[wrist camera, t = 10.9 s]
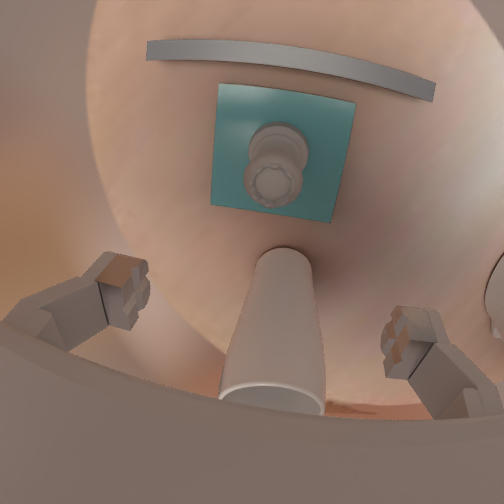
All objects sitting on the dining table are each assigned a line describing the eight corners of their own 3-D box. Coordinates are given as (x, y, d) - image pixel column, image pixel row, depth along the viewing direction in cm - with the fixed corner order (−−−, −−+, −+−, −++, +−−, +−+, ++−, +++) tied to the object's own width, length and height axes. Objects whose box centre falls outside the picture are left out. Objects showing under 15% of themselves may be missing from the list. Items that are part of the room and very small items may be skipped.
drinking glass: (293, 306, 32) (284, 441, 20) (235, 275, 31) (198, 412, 19) (334, 261, 29) (350, 405, 16) (272, 224, 27) (249, 367, 15)
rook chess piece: (292, 110, 21) (292, 130, 14) (318, 163, 23) (328, 207, 16) (238, 136, 23) (213, 167, 16) (265, 185, 25) (253, 236, 18)
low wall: (420, 80, 19) (435, 83, 16) (417, 97, 20) (432, 102, 17) (163, 42, 20) (147, 41, 17) (162, 60, 21) (146, 60, 18)
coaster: (353, 102, 21) (356, 103, 20) (329, 217, 26) (330, 223, 26) (221, 82, 21) (218, 83, 21) (213, 199, 27) (210, 204, 26)
